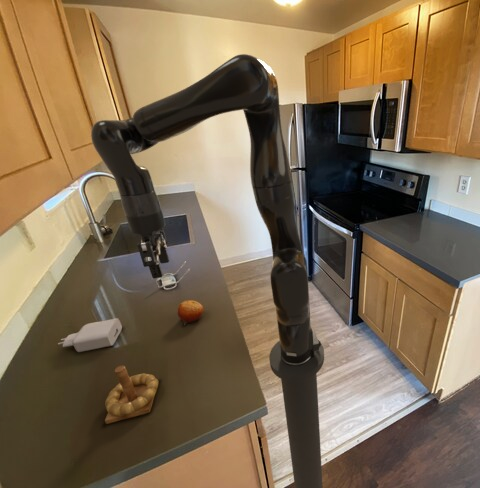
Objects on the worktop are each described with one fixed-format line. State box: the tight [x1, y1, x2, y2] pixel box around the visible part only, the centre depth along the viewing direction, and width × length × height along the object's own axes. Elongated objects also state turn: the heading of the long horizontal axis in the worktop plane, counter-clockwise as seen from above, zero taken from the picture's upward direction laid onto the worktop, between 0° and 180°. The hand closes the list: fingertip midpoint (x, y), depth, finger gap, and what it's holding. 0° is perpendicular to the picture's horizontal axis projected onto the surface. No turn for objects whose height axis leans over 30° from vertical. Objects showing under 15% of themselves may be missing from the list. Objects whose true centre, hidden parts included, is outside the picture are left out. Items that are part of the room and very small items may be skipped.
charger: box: [57, 317, 123, 353], centre depth 87 cm, size 5×9×15 cm
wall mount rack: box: [155, 260, 191, 291], centre depth 121 cm, size 16×14×6 cm
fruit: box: [177, 299, 204, 326], centre depth 96 cm, size 8×8×8 cm
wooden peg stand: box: [104, 364, 159, 425], centre depth 66 cm, size 9×9×11 cm
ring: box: [104, 372, 159, 416], centre depth 68 cm, size 11×11×2 cm
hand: (161, 269), depth 73 cm, fingers open, 8 cm apart
